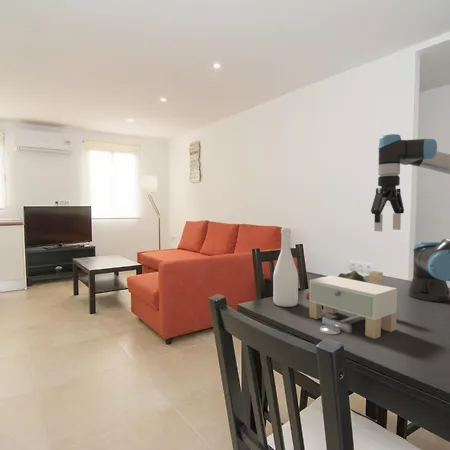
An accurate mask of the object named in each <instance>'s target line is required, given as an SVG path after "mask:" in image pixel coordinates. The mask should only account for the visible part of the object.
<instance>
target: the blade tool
mask: <svg viewBox="0 0 450 450" xmlns="http://www.w3.org/2000/svg"><path fill="white" fill-rule="evenodd" d="M368 274H369V275H368V283H372V284H377V285H382V286H384V285H383V284H384V283H383V280H384V277H383V276H384V272H383V271H377V270H373V271H369V273H368ZM321 319H322V321H321V324H323V326H324V325H331V326H336V327H338V328H340V331H342V332H345V333H348V334H351V333H353V326H352V324H355V323H358V322H360V321H364V320H366V317H362V316H359V315H355V314H354V315H352V316H349V317H347V318H343V319H341V320H337V319H333V318H331V317H327V316H322V318H321Z"/></svg>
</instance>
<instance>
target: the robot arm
mask: <svg viewBox="0 0 450 450" xmlns="http://www.w3.org/2000/svg"><path fill="white" fill-rule="evenodd" d="M378 142H379V143H378V168H377V171H378V172H377V173H378V178H377V185H378V187H377V188H376V189H375V195H374V198H373V202H372V204H371V210H370V213H371V214H372V215H374V226H373V227H374V232H383V222H384V221H383V218H384V217H383V210H384V208H385V205H386V203H387V201H389V203H390V205H391V207H392V208H391V209H392V210H393V212H394V213H392V230H393V231H394V230H397V231H400V230H401V224H402V219H401V218H402V216H401V215H402V214H404V213H405V208H404V204H403V203H404V202H403V199H402V193H401V188H397V187H399V186H400V184H401V183H400V180H401V179H400V177H401V176H400V173H401V165H405V166H406V165H411V166H414V167H419V168H423V169H428V170H431V171H434V172H435V171H436V172H438V173H439V172H440V173H443V174H445V175H446V174H447V175H450V153H446V152H441V151H438V144H437V140H436V139H434V138H425V137H424V138H417V139H402V138H401V135H400V134H399V133H398V134H397V133H396V134H395V133H394V134H393V133H391V134H385V135H382V136H380V137H379V141H378ZM412 251H413V264H412V265H413V266H412V267H413V268H412V269H413V270H412V272H413V274H412V279H411V281H410V284H409V287H408V289H407V295H408V296H410V297H412V298H414V299H418V300H422V301H429V302H446V301H447V302H448V301H450V290H449V287H448V283H447V282H450V237H447V238H446V237H445V238H443V239H442V240H441V241H438V242H437V241H435V242H434V241H433V242H432V241H420V242H419V241H418V242H415V243H414V245H413V249H412Z"/></svg>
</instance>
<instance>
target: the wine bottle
mask: <svg viewBox="0 0 450 450" xmlns="http://www.w3.org/2000/svg"><path fill="white" fill-rule="evenodd" d="M291 231H292V230H291V228H290V227H282V228H281V229H280V234H281V242H280V243H281V245H280V246H281V247H280V253H279V255H278V257H277V262H276V264H275V268H274V271H273V274H272V275H273V277H272V278H273V279H272V280H273V285H272V286H273V287H272V288H273V289H272V290H273V294H272V296H273V304H274V305H276V306H278V307H282V308H290V307H295V306H297V305H298V302H299V272H298V269H297V267H296V264H295V260H294V257H293V255H292V251H291Z"/></svg>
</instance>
